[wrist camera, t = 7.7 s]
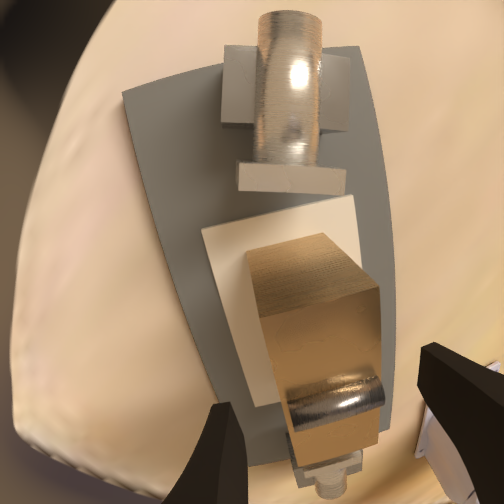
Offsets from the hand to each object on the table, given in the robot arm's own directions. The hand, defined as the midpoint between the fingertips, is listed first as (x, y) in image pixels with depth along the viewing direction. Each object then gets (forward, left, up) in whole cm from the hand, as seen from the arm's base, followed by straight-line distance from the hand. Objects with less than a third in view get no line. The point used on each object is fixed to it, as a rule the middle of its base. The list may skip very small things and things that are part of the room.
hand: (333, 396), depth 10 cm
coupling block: (0, 0, -6) cm, 6 cm away
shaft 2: (-10, 0, -6) cm, 12 cm away
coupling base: (0, 0, -7) cm, 7 cm away
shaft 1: (+10, -1, -6) cm, 12 cm away
